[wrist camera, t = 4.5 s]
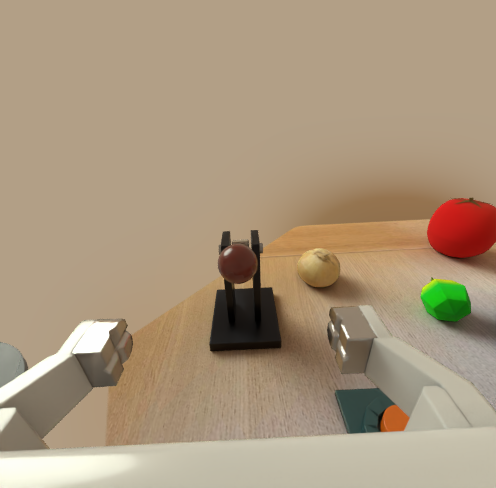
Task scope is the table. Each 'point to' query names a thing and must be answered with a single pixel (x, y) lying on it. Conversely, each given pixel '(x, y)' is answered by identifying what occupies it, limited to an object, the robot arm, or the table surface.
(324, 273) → the onion
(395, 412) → the button
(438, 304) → the apple
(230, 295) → the bracket
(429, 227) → the tomato
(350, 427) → the button box
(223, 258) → the lever
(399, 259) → the table surface
